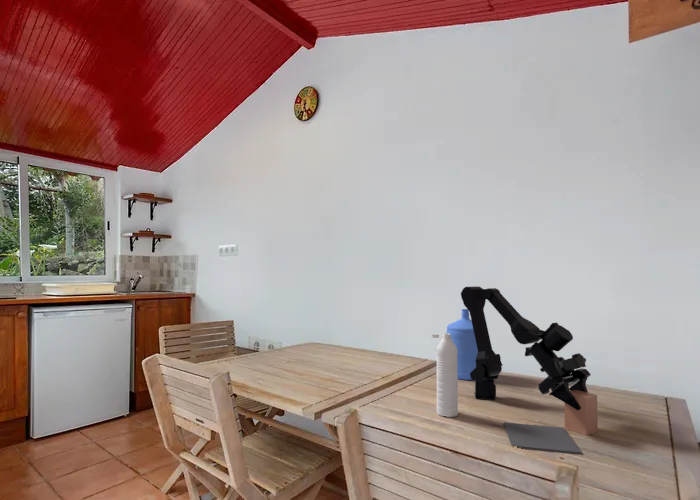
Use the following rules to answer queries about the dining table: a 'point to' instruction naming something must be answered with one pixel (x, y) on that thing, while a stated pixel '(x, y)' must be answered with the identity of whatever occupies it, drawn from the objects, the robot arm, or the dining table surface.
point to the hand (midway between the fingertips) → (585, 407)
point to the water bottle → (447, 376)
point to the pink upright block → (582, 413)
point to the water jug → (464, 345)
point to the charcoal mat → (540, 438)
